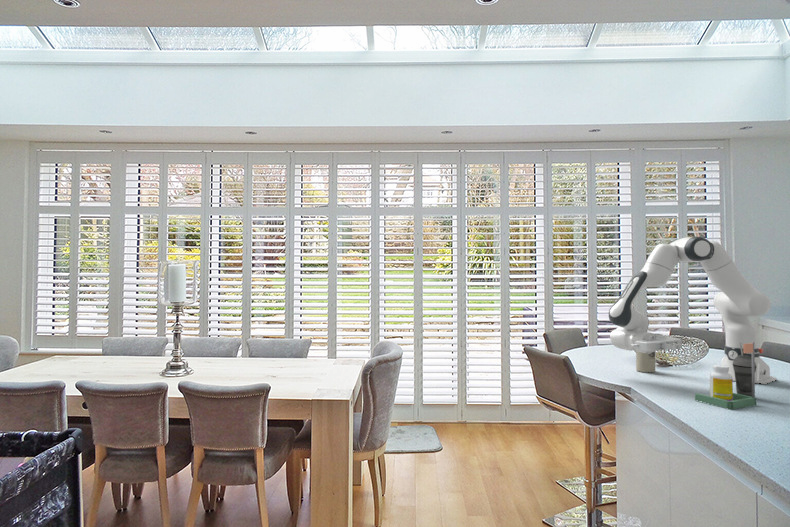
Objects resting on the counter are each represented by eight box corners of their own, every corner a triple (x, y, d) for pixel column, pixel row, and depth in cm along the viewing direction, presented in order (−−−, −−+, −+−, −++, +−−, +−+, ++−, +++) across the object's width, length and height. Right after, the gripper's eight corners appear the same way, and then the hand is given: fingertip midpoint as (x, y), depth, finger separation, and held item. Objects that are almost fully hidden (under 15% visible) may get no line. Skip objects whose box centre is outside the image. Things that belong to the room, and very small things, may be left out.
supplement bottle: (736, 405, 162) (736, 368, 162) (715, 404, 163) (715, 367, 163) (726, 400, 168) (726, 364, 169) (706, 399, 170) (706, 363, 170)
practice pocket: (720, 396, 173) (719, 337, 174) (756, 405, 162) (755, 342, 163) (695, 400, 167) (694, 339, 168) (730, 409, 156) (730, 344, 157)
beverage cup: (750, 400, 169) (750, 345, 169) (728, 395, 175) (728, 342, 176) (760, 397, 172) (760, 343, 172) (739, 393, 178) (738, 341, 179)
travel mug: (632, 369, 222) (632, 332, 222) (648, 369, 222) (647, 332, 223) (643, 373, 214) (643, 334, 214) (659, 373, 215) (659, 334, 215)
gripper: (628, 336, 190) (659, 341, 177) (662, 333, 198) (694, 337, 186) (628, 352, 190) (659, 357, 177) (662, 348, 198) (694, 353, 185)
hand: (677, 347), depth 181 cm, fingers closed
